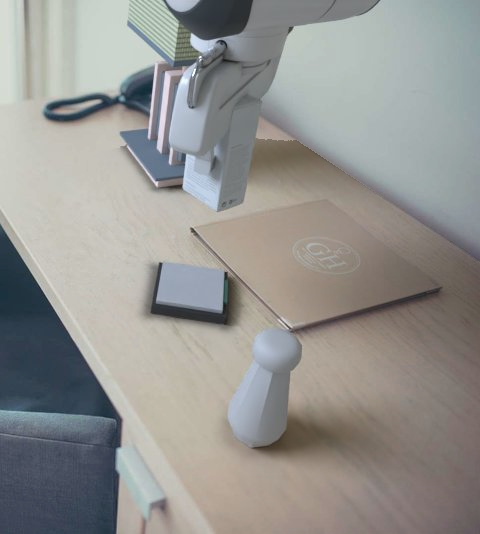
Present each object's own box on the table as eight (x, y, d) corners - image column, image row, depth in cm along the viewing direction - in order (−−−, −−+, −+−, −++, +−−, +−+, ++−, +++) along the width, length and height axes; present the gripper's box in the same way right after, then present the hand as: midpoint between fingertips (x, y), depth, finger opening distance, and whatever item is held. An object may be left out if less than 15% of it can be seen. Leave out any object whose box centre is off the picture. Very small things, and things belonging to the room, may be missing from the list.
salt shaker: (291, 452, 63) (325, 360, 55) (235, 459, 62) (262, 367, 54) (267, 405, 68) (296, 314, 60) (216, 412, 67) (238, 320, 59)
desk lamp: (237, 183, 104) (281, -33, 84) (156, 195, 101) (182, -28, 80) (189, 134, 118) (218, -63, 98) (117, 142, 114) (131, -60, 94)
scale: (226, 278, 85) (228, 268, 83) (224, 324, 78) (226, 313, 76) (158, 269, 86) (159, 258, 85) (150, 313, 79) (151, 302, 78)
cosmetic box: (245, 203, 71) (268, 99, 63) (215, 215, 69) (235, 109, 61) (207, 179, 75) (224, 78, 67) (177, 189, 73) (192, 87, 65)
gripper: (230, 68, 52) (205, 211, 61) (302, 8, 66) (274, 131, 75) (160, 52, 55) (146, 191, 63) (244, -3, 69) (223, 117, 77)
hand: (215, 158), depth 69 cm, fingers closed on cosmetic box, 5 cm apart
